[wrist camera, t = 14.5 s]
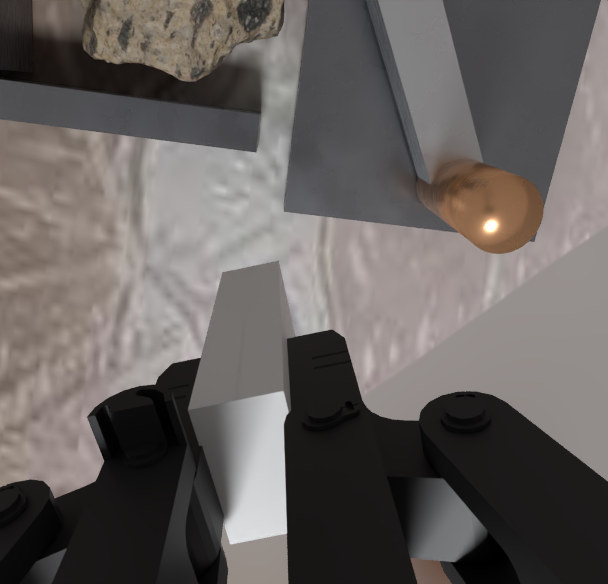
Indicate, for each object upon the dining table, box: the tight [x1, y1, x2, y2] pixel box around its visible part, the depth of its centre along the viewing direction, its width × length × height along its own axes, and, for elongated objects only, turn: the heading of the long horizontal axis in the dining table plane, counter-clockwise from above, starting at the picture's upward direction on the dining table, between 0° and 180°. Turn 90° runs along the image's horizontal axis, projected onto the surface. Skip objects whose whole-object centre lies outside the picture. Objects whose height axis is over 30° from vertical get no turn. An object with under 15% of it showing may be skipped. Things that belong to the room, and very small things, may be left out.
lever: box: [366, 0, 543, 254], centre depth 27 cm, size 21×5×9 cm, turn 20°
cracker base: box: [0, 0, 601, 242], centre depth 29 cm, size 20×34×7 cm, turn 82°
